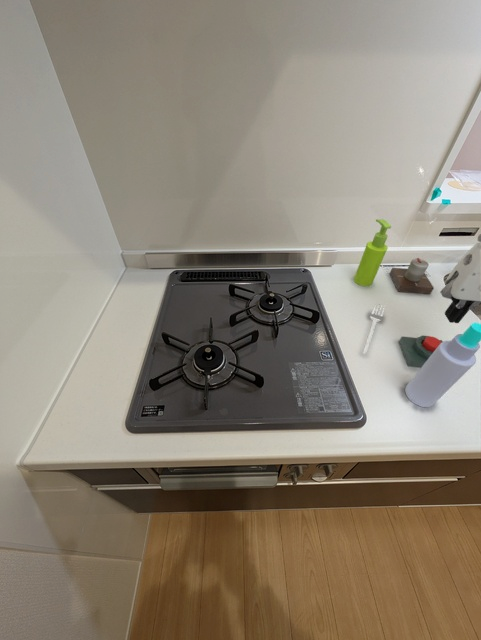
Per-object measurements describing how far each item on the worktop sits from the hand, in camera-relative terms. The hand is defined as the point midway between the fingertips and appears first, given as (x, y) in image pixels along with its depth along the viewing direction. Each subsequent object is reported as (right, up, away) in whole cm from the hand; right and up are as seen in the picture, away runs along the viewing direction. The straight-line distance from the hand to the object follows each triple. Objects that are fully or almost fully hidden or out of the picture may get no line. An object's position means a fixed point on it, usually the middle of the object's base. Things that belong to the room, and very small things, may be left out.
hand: (450, 318), depth 61 cm
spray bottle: (-6, -18, +1) cm, 19 cm away
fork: (-10, -3, +16) cm, 19 cm away
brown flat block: (+10, +12, +31) cm, 34 cm away
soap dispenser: (-5, +13, +32) cm, 35 cm away
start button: (0, -7, +7) cm, 10 cm away
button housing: (0, -9, +9) cm, 13 cm away
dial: (+10, +13, +29) cm, 34 cm away
